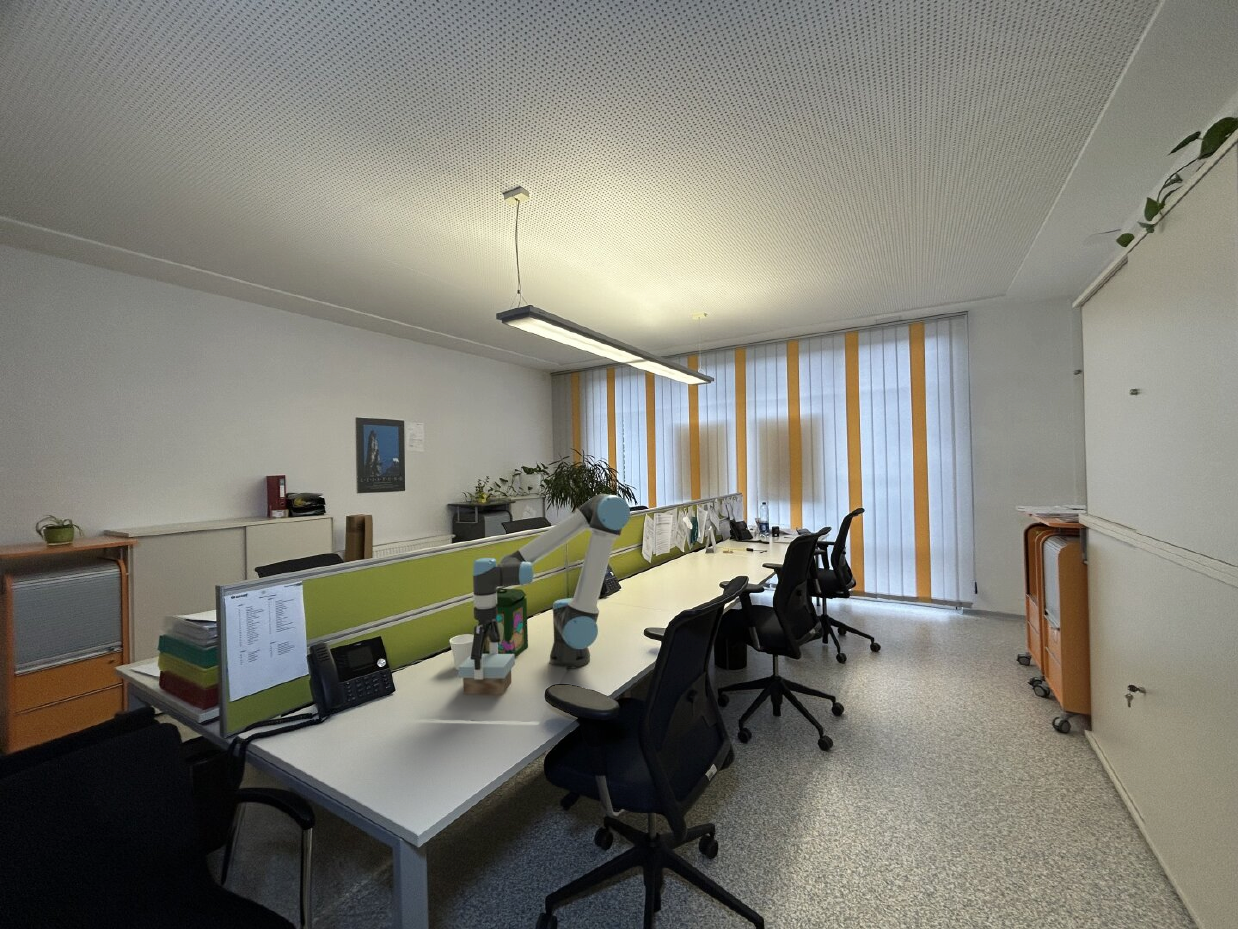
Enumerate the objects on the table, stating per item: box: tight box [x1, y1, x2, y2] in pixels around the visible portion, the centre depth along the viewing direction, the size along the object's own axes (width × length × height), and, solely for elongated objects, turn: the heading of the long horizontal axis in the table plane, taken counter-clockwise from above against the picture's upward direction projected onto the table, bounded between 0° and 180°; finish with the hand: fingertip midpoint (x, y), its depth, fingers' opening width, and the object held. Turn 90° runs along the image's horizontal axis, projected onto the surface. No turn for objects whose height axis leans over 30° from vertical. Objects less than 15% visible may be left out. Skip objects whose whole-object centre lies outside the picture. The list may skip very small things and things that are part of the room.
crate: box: [462, 669, 513, 696], centre depth 163 cm, size 13×9×9 cm
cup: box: [449, 633, 474, 671], centre depth 182 cm, size 10×10×11 cm
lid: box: [458, 654, 516, 679], centre depth 163 cm, size 15×11×4 cm
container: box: [477, 587, 529, 658], centre depth 196 cm, size 15×18×25 cm
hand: (486, 670), depth 163 cm, fingers open, 13 cm apart
